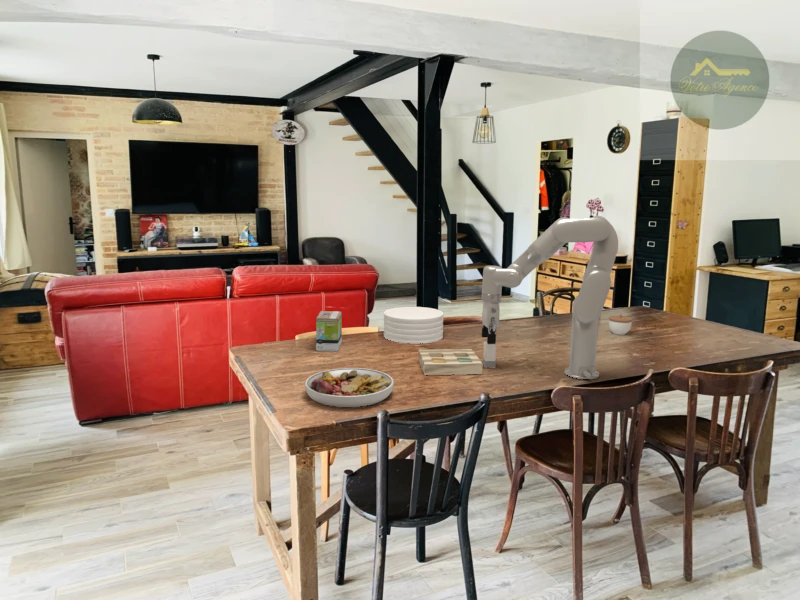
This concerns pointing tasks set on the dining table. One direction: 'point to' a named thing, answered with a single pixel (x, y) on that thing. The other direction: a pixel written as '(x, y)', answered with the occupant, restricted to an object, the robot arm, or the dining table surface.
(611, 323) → the lidded jar
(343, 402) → the bowl
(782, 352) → the dining table surface
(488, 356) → the plug
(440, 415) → the dining table surface
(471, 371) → the socket block
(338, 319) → the tea box
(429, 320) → the plate stack
